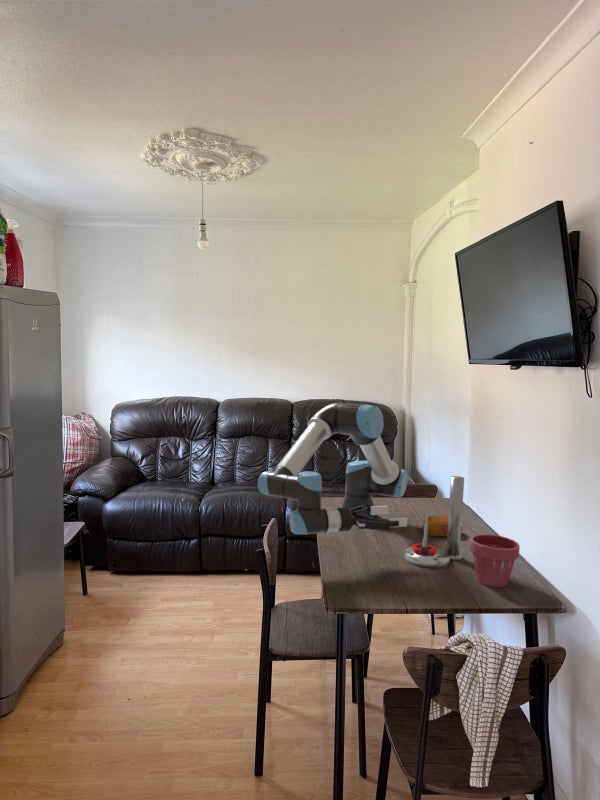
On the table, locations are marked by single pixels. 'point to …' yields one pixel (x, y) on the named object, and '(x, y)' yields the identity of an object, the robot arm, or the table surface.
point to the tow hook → (424, 543)
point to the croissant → (437, 525)
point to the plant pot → (494, 558)
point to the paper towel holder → (454, 532)
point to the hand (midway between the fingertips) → (397, 515)
